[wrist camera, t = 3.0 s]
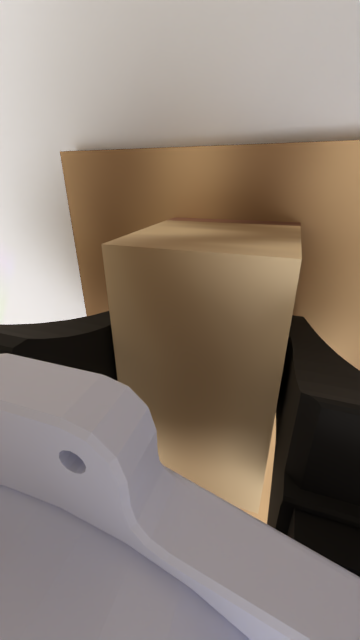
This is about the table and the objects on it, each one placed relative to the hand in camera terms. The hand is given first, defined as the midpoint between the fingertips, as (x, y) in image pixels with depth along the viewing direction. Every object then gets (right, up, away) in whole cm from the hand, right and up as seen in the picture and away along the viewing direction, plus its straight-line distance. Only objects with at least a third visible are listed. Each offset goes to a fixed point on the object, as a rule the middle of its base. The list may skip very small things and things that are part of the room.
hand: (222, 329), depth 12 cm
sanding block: (0, 0, +1) cm, 1 cm away
